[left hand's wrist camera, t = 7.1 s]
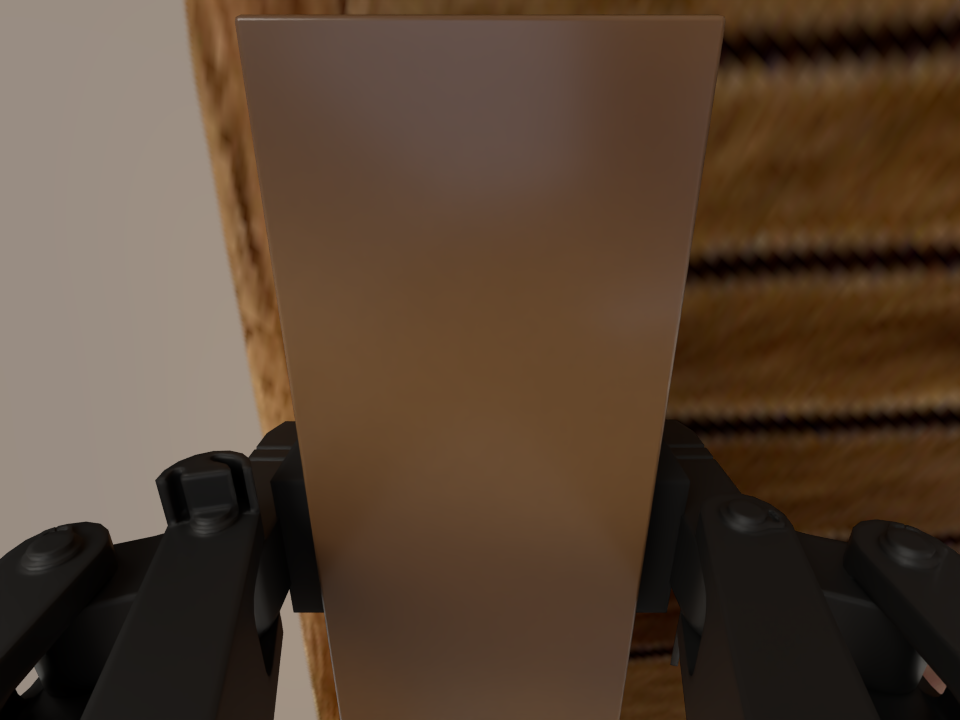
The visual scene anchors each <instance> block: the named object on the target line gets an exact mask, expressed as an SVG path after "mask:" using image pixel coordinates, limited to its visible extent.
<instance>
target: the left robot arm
mask: <svg viewBox="0 0 960 720" xmlns="http://www.w3.org/2000/svg"><path fill="white" fill-rule="evenodd" d="M155 481H156V485H157V488H158V492H159V495H160V499H161V503H162V506H163V510H164V513H165V517H166V520H167V524H168V527H167V529H166V531H165V533H164V534H160V535H157V536H153V537H148V538H143V539H138V540H133V541H129V542H124V543H119V544H114V545H113V543H112V540H111V537H110V534H109V531H108V529H106V528H105V527H104V526H103V525H101V524H99V523H91V522H80V523H72V524H65V525H61V526H58V527H56V528H55V527H54V528H51V529H48V530H45V531H43V532H42V533H40V534H38V535H36V536H33V537H31V538H29V539H27V540H25V541H24V542H22V543H21V544H19V545H18V546H17V547H15V548H14V549H12V550H11V551H9V552H8V553H7V554H6V555H4V556H3V557H2V558H1V559H0V720H274V712H275V702H276V693H277V684H278V675H279V666H280V657H281V648H282V639H283V628H282V621H281V616H280V609H281V607H282V605H283V602H284V600H285V598H286V595H287V593H288V591H289V589H290V594H291V600H292V605H293V611H294V612H324V608H323V601H322V594H321V588H320V581H319V574H318V568H317V561H316V555H315V548H314V541H313V535H312V528H311V521H310V515H309V508H308V502H307V495H306V488H305V482H304V475H303V468H302V462H301V455H300V449H299V442H298V435H297V429H296V422H295V421H285V422H284V423H282V424H280V425H279V426H277V427H276V428H274V429H273V430H271V431H270V432H268V433H267V434H266V435H265V436H264V438H263V439H262V440H261V442H260V443H259V444H258V446H257V449H256V450H254V451H253V452H252V454H251V455H250V456H249V458H248V457H246V456H245V455H244V454H243V453H238V452H234V451H212V452H207V453H202V454H197V455H194V456H192V457H189V458H186V459H184V460H181V461H179V462H177V463H175V464H174V465H172V466H171V467H169V468H167V469H166V470H164V471H163V472H162V473H161V475H160V476H159V477H158V478H157V479H156V480H155ZM671 588H672V590H673V592H674V594H675V597H676V599H677V601H678V603H679V606H680V608H681V611H680V616H679V621H678V626H677V631H676V636H675V642H674V647H673V652H672V658H671V665H674V666H678V661H679V656H680V665H681V674H682V683H683V692H684V701H685V710H686V719H687V720H960V555H959V554H958V553H956V552H955V551H954V550H953V549H951V548H950V547H948V546H947V545H945V544H944V543H943V542H941V541H940V540H938V539H937V538H935V537H933V536H931V535H929V534H926V533H924V532H922V531H920V530H919V529H917V528H914V527H911V526H909V525H904V524H902V523H897V522H892V521H884V520H868V521H861V522H860V523H858V524H857V525H856V526H855V527H853V529H852V532H851V535H850V538H849V541H848V542H843V541H838V540H833V539H828V538H823V537H819V536H814V535H809V534H805V533H801V532H797V531H795V530H794V528H793V526H792V524H791V523H790V521H789V520H788V519H787V517H786V516H785V515H784V514H783V513H782V512H780V511H779V510H778V509H776V508H775V507H774V506H772V505H771V504H769V503H766V502H764V501H762V500H760V499H758V498H755V497H752V496H748V495H744V494H741V493H740V491H739V490H738V489H737V487H736V486H735V485H734V483H733V482H732V481H731V479H730V478H729V477H728V476H727V474H726V473H725V472H724V470H723V469H722V468H721V466H720V465H719V464H718V463H717V461H716V460H715V459H713V456H712V455H711V453H710V452H709V451H708V449H707V448H704V444H703V443H702V442H701V440H700V439H699V438H698V436H697V435H696V434H695V432H694V431H692V430H691V429H689V428H688V427H686V426H684V425H683V424H681V423H680V422H678V421H677V420H665V423H664V429H663V436H662V442H661V449H660V456H659V462H658V469H657V475H656V482H655V489H654V495H653V502H652V508H651V515H650V521H649V528H648V535H647V541H646V548H645V554H644V561H643V568H642V574H641V581H640V587H639V594H638V600H637V607H636V612H667V608H668V602H669V596H670V591H671ZM927 664H928V665H929V666H930V668H931V669H932V670H933V671H934V672H935V673H936V675H937V676H938V677H939V678H940V679H941V680H942V682H943V683H944V684H945V685H946V688H945V690H944V692H943V693H942V694H940V693H939V692H938V691H937V690H935V689H934V688H933V687H932V686H931V685H930V683H929V682H928V681H927V680H926V679H925V677H924V676H923V673H924V671H925V669H926V666H927ZM33 667H35V669H36V672H37V674H38V676H39V677H38V679H37V680H36V681H35V682H34V684H33V685H32V686H31V687H30V688H29V689H28V690H27V691H26V692H24V693H23V694H22V695H21V696H20V695H18V693H17V691H16V687H17V686H18V685H19V684H20V683H21V681H22V680H23V679H24V678H25V677H26V676H27V674H28V673H29V672H30V671H31V670H32V669H33Z"/></svg>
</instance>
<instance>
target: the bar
mask: <svg viewBox="0 0 960 720" xmlns="http://www.w3.org/2000/svg"><path fill="white" fill-rule="evenodd" d="M235 24H236V31H237V38H238V44H239V51H240V57H241V64H242V71H243V77H244V84H245V91H246V97H247V104H248V110H249V117H250V124H251V130H252V137H253V144H254V150H255V157H256V164H257V170H258V177H259V183H260V190H261V197H262V203H263V210H264V217H265V223H266V230H267V236H268V243H269V250H270V256H271V263H272V270H273V276H274V283H275V289H276V296H277V303H278V309H279V316H280V323H281V329H282V336H283V342H284V349H285V356H286V362H287V369H288V376H289V382H290V389H291V395H292V402H293V409H294V415H295V422H296V429H297V435H298V442H299V449H300V455H301V462H302V468H303V475H304V482H305V488H306V495H307V502H308V508H309V515H310V521H311V528H312V535H313V541H314V548H315V555H316V561H317V568H318V574H319V581H320V588H321V594H322V601H323V608H324V614H325V621H326V627H327V634H328V641H329V647H330V654H331V661H332V667H333V674H334V681H335V687H336V694H337V700H338V707H339V714H340V720H619V719H620V712H621V706H622V699H623V693H624V686H625V679H626V673H627V666H628V660H629V653H630V647H631V640H632V633H633V627H634V620H635V614H636V607H637V600H638V594H639V587H640V581H641V574H642V568H643V561H644V554H645V548H646V541H647V535H648V528H649V521H650V515H651V508H652V502H653V495H654V489H655V482H656V475H657V469H658V462H659V456H660V449H661V442H662V436H663V429H664V423H665V416H666V410H667V403H668V396H669V390H670V383H671V377H672V370H673V363H674V357H675V350H676V344H677V337H678V331H679V324H680V317H681V311H682V304H683V298H684V291H685V284H686V278H687V271H688V265H689V258H690V252H691V245H692V238H693V232H694V225H695V219H696V212H697V205H698V199H699V192H700V186H701V179H702V173H703V166H704V159H705V153H706V146H707V140H708V133H709V126H710V120H711V113H712V107H713V100H714V94H715V87H716V80H717V74H718V67H719V61H720V54H721V47H722V41H723V34H724V28H725V17H723V16H721V15H239V16H237V17H236V19H235Z"/></svg>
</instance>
